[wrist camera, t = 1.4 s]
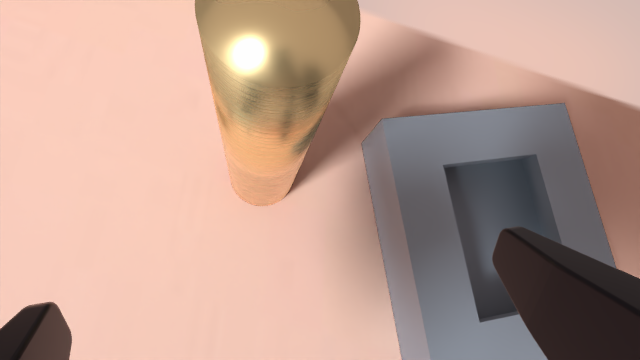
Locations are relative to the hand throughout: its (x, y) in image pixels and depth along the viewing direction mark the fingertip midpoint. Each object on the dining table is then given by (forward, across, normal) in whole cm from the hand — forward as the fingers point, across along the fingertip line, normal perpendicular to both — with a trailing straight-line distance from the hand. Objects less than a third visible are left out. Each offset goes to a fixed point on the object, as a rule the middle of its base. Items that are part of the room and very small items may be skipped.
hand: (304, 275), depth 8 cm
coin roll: (+12, 0, +5) cm, 13 cm away
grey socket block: (+8, -11, +8) cm, 16 cm away
